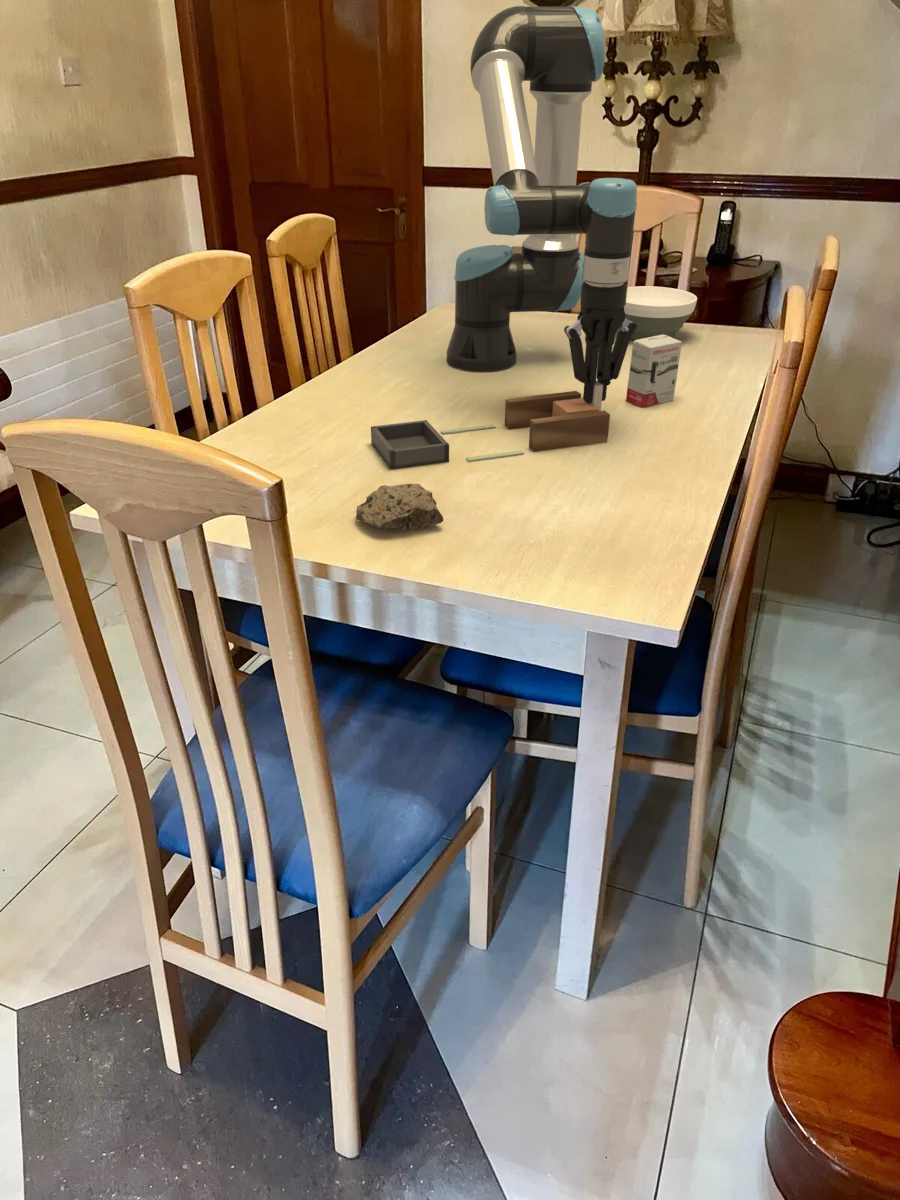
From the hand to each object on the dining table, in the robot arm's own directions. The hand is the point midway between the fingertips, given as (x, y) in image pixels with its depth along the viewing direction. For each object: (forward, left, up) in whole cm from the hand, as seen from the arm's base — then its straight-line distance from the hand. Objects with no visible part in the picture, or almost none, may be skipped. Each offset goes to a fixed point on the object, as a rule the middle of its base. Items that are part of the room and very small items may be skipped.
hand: (592, 418), depth 162 cm
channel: (0, -7, -2) cm, 8 cm away
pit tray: (0, -34, -2) cm, 34 cm away
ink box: (-10, +18, -2) cm, 20 cm away
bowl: (-50, +41, -2) cm, 65 cm away
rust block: (0, -4, -2) cm, 4 cm away
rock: (+23, -43, -2) cm, 49 cm away
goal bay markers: (0, -21, -2) cm, 21 cm away
